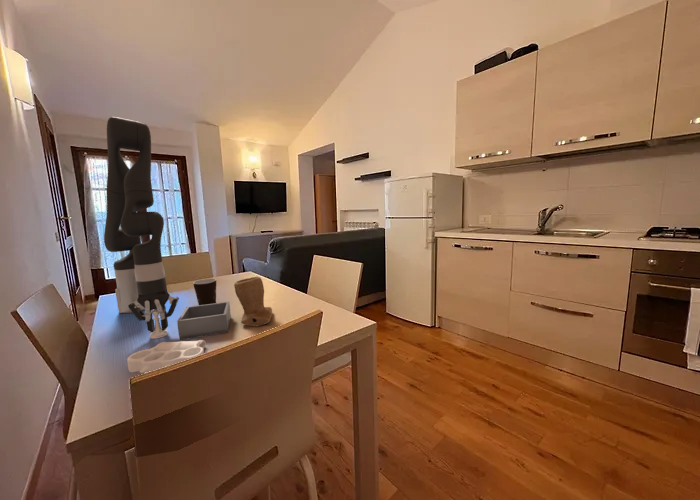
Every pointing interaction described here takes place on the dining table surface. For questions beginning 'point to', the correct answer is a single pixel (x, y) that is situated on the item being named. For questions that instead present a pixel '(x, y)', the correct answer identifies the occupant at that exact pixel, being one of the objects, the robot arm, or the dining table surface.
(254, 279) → the tan upright curved piece
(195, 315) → the bin
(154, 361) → the white muffin tray
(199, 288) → the coffee mug
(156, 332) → the chess piece
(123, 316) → the dining table surface
